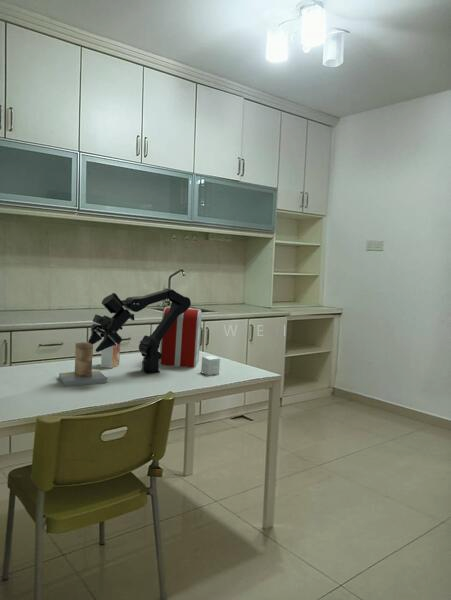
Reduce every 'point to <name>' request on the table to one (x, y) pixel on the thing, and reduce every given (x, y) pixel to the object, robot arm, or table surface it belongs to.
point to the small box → (110, 356)
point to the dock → (73, 380)
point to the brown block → (83, 359)
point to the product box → (210, 365)
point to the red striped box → (182, 340)
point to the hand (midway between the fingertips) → (91, 349)
